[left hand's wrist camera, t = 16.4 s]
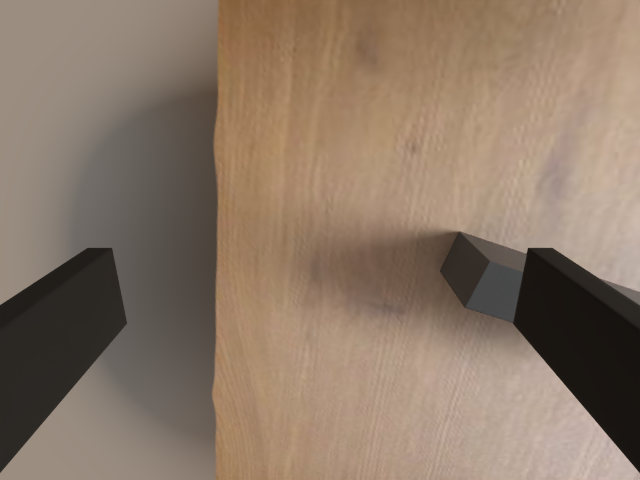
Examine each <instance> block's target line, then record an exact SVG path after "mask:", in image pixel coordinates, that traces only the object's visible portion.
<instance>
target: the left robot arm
mask: <svg viewBox="0 0 640 480" xmlns="http://www.w3.org/2000/svg"><path fill="white" fill-rule="evenodd" d="M126 324H127V321H126V316H125V311H124V306H123V301H122V296H121V291H120V286H119V281H118V276H117V271H116V266H115V261H114V256H113V251H112V248H87V249H85V250H84V251H82V252H81V253H79V254H78V255H76V256H75V257H73V258H72V259H70V260H69V261H67V262H66V263H64V264H62V265H61V266H59V267H58V268H56V269H55V270H53V271H52V272H50V273H49V274H47V275H46V276H44V277H43V278H41V279H40V280H38V281H37V282H35V283H33V284H32V285H30V286H29V287H27V288H26V289H24V290H23V291H21V292H20V293H18V294H17V295H15V296H14V297H12V298H10V299H9V300H7V301H6V302H4V303H3V304H1V305H0V472H1V471H2V470H3V469H4V468H5V467H6V465H7V464H8V463H9V462H10V461H11V460H12V458H13V457H14V456H15V455H16V454H17V452H18V451H19V450H20V449H21V448H22V447H23V445H24V444H25V443H26V442H27V441H28V439H29V438H30V437H31V436H32V435H33V434H34V432H35V431H36V430H37V429H38V428H39V427H40V425H41V424H42V423H43V422H44V421H45V419H46V418H47V417H48V416H49V415H50V414H51V412H52V411H53V410H54V409H55V408H56V407H57V405H58V404H59V403H60V402H61V401H62V399H63V398H64V397H65V396H66V395H67V394H68V392H69V391H70V390H71V389H72V388H73V386H74V385H75V384H76V383H77V382H78V381H79V379H80V378H81V377H82V376H83V375H84V374H85V372H86V371H87V370H88V369H89V368H90V366H91V365H92V364H93V363H94V362H95V361H96V359H97V358H98V357H99V356H100V355H101V354H102V352H103V351H104V350H105V349H106V347H107V346H108V345H109V344H110V343H111V342H112V341H113V339H114V338H115V337H116V336H117V335H118V333H119V332H120V331H121V330H122V329H123V328H124V326H125V325H126ZM513 324H514V325H515V326H516V328H517V329H518V330H519V331H520V332H521V333H522V335H523V336H524V337H525V338H526V339H527V341H528V342H529V343H530V344H531V345H532V346H533V348H534V349H535V350H536V351H537V352H538V354H539V355H540V356H541V357H542V358H543V359H544V361H545V362H546V363H547V364H548V365H549V366H550V368H551V369H552V370H553V371H554V372H555V374H556V375H557V376H558V377H559V378H560V379H561V381H562V382H563V383H564V384H565V385H566V386H567V388H568V389H569V390H570V391H571V392H572V394H573V395H574V396H575V397H576V398H577V399H578V401H579V402H580V403H581V404H582V405H583V407H584V408H585V409H586V410H587V411H588V412H589V414H590V415H591V416H592V417H593V418H594V419H595V421H596V422H597V423H598V424H599V425H600V427H601V428H602V429H603V430H604V431H605V432H606V434H607V435H608V436H609V437H610V438H611V440H612V441H613V442H614V443H615V444H616V445H617V447H618V448H619V449H620V450H621V451H622V452H623V454H624V455H625V456H626V457H627V458H628V460H629V461H630V462H631V463H632V464H633V465H634V467H635V468H636V469H637V470H638V471H639V472H640V305H639V304H637V303H636V302H634V301H633V300H631V299H630V298H628V297H627V296H625V295H623V294H622V293H620V292H619V291H617V290H616V289H614V288H613V287H611V286H610V285H608V284H607V283H605V282H604V281H602V280H600V279H599V278H597V277H596V276H594V275H593V274H591V273H590V272H588V271H587V270H585V269H584V268H582V267H581V266H579V265H578V264H576V263H574V262H573V261H571V260H570V259H568V258H567V257H565V256H564V255H562V254H561V253H559V252H558V251H556V250H555V249H553V248H528V251H527V256H526V261H525V266H524V271H523V276H522V281H521V286H520V291H519V296H518V301H517V306H516V311H515V316H514V321H513Z"/></svg>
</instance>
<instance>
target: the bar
mask: <svg viewBox="0 0 640 480" xmlns="http://www.w3.org/2000/svg"><path fill="white" fill-rule="evenodd" d="M526 256H527V254H525V253H522V252H519V251H516V250H513V249H510V248H507V247H504V246H501V245H498V244H495V243H492V242H489V241H486V240H483V239H480V238H477V237H474V236H471V235H468V234H466V233H463V232H459V234H458V236H457V238H456V240H455V242H454V244H453V246H452V248H451V250H450V252H449V254H448V256H447V258H446V260H445V262H444V264H443V266H442V268H441V270H440V272H441V274H442V275H443V276H444V278H445V279H446V281H447V282H448V284H449V285H450V287H451V288H452V290H453V291H454V292H455V294H456V295H457V297H458V298H459V300H460V301H461V303H462V304H463V306H464V307H465V308H468V309H471V310H474V311H477V312H480V313H484V314H487V315H490V316H493V317H496V318H500V319H503V320H506V321H509V322H512V323H513V321H514V316H515V311H516V306H517V301H518V296H519V291H520V286H521V281H522V276H523V271H524V266H525V261H526ZM600 280H602V279H600ZM602 281H604V282H605V283H607V284H608V285H610V286H611V287H613V288H614V289H616V290H617V291H619V292H620V293H622V294H623V295H625V296H627V297H628V298H630V299H631V300H633V301H634V302H636V303H637V304H639V305H640V292H638V291H635V290H632V289H629V288H626V287H623V286H620V285H617V284H614V283H611V282H608V281H605V280H602Z"/></svg>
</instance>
